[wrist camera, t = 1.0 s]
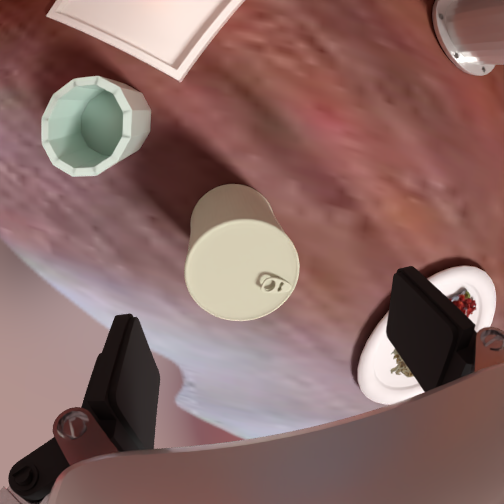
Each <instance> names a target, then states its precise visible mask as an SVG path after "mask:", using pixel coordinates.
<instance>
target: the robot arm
mask: <svg viewBox="0 0 504 504" xmlns="http://www.w3.org/2000/svg"><path fill="white" fill-rule="evenodd" d="M432 18H433V25H434V30H435V33H436V36H437V39H438V41H439V43H440V45H441V47H442V49H443V50H444V52H445V53H446V55H447V56H448V57H449V59H450V60H451V61H452V62H453V63H454V64H455V65H456V66H457V67H458V68H459V69H461V70H462V71H464V72H466V73H468V74H471V75H486V74H488V73H489V72H491V70H492V69H493V68H494V66H495V65H504V0H435V2H434V5H433V11H432ZM475 326H476V325H475V324H474V323H473V322H472V321H471V320H470V319H469V318H468V317H467V316H466V315H465V314H464V313H463V312H462V311H461V310H460V309H459V308H458V307H457V306H456V305H455V304H454V303H453V302H452V301H450V300H449V299H448V298H447V297H446V296H445V295H444V294H443V293H442V292H441V291H440V290H439V289H438V288H437V287H435V286H434V285H433V284H432V283H431V282H430V281H429V280H428V279H427V278H426V277H424V276H423V275H422V274H421V273H420V272H419V271H418V270H417V269H415V268H414V267H413V266H409V267H405V268H400V269H398V270H397V273H395V274H394V276H393V283H392V291H391V299H390V306H389V313H388V320H387V326H386V335H387V338H388V339H389V341H390V342H391V344H392V345H393V346H394V348H395V349H396V351H397V352H398V354H399V355H400V357H401V358H402V359H403V361H404V362H405V364H406V365H407V367H408V368H409V370H410V371H411V373H412V374H413V376H414V377H415V379H416V380H417V382H418V383H419V385H420V386H421V388H422V389H423V391H424V393H421V394H419V395H416V396H414V397H411V398H408V399H405V400H403V401H400V402H397V403H394V404H391V405H388V406H385V407H382V408H379V409H376V410H372V411H369V412H366V413H363V414H359V415H356V416H353V417H349V418H345V419H342V420H338V421H334V422H330V423H326V424H322V425H318V426H314V427H310V428H306V429H301V430H296V431H292V432H287V433H282V434H276V435H271V436H266V437H260V438H254V439H247V440H241V441H234V442H226V443H218V444H209V445H199V446H189V447H177V448H164V449H163V448H162V449H154V437H155V425H156V414H157V404H158V395H159V385H160V374H159V371H158V368H157V366H156V363H155V361H154V359H153V356H152V353H151V351H150V348H149V346H148V343H147V340H146V338H145V335H144V332H143V330H142V327H141V324H140V321H139V319H138V318H137V317H133V315H132V314H123V315H116V316H115V318H114V320H113V323H112V326H111V329H110V331H109V334H108V337H107V340H106V343H105V346H104V348H103V351H102V353H100V354H99V356H98V357H97V360H96V363H95V366H94V369H93V372H92V375H91V378H90V381H89V384H88V388H87V391H86V394H85V397H84V400H83V404H82V407H81V408H80V407H75V408H70V409H67V410H65V411H64V412H62V413H61V414H60V415H59V416H58V417H57V418H56V420H55V422H54V425H53V434H54V438H52V439H51V440H50V441H48V442H47V443H45V444H44V445H42V446H41V447H39V448H38V449H36V450H35V451H33V452H32V453H30V454H29V455H27V456H26V457H24V458H23V459H21V460H20V461H18V462H17V463H16V464H15V465H14V466H13V467H12V469H11V470H10V473H9V485H10V486H9V487H8V488H5V487H3V488H2V489H1V490H0V504H504V331H502V330H500V329H498V328H495V327H485V328H482V329H480V330H479V331H478V332H476V331H475V330H474V329H475Z"/></svg>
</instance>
